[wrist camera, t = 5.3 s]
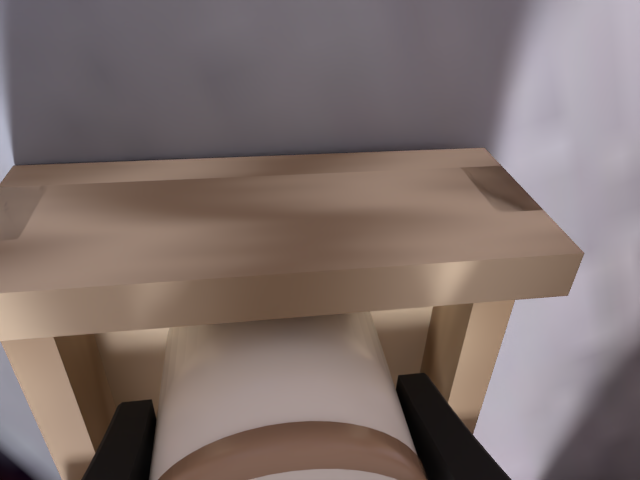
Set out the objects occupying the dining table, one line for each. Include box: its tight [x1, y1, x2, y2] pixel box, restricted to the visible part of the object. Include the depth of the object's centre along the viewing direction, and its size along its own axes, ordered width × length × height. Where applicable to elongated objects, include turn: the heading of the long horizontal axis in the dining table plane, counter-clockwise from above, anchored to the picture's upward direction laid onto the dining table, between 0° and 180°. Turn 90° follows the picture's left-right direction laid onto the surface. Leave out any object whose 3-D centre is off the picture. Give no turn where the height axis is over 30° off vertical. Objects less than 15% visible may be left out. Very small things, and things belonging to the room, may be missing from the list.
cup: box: [149, 312, 428, 480], centre depth 11 cm, size 5×5×6 cm
